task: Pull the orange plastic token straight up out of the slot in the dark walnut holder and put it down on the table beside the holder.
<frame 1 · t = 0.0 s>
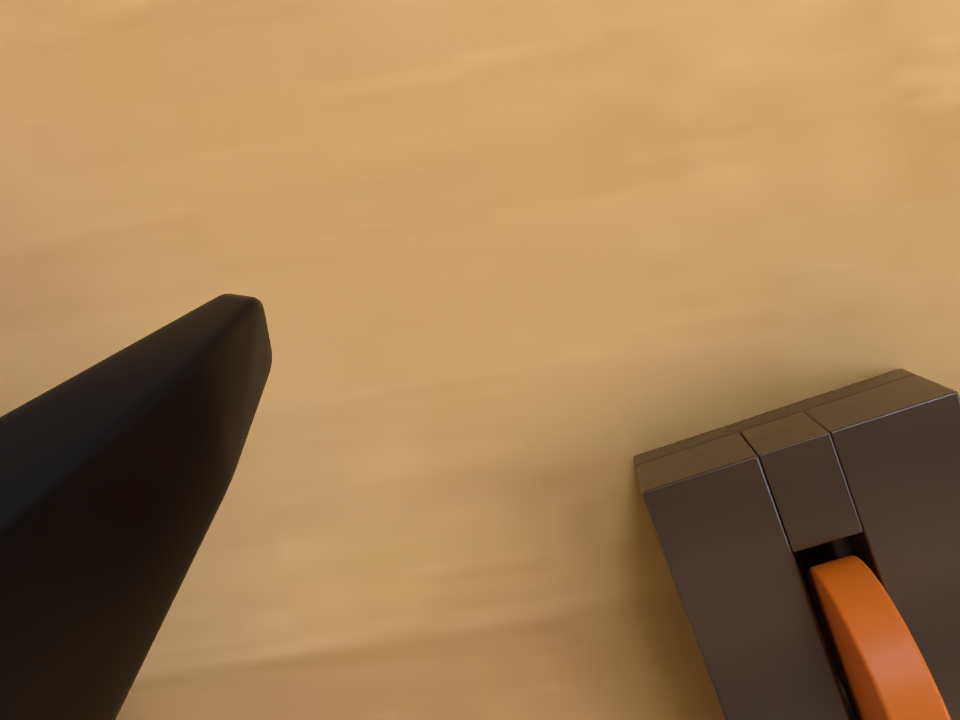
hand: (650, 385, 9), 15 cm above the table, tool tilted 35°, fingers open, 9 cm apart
token: (843, 627, 23), point 1 cm above the table, touching holder
holder: (832, 611, 24), on the table
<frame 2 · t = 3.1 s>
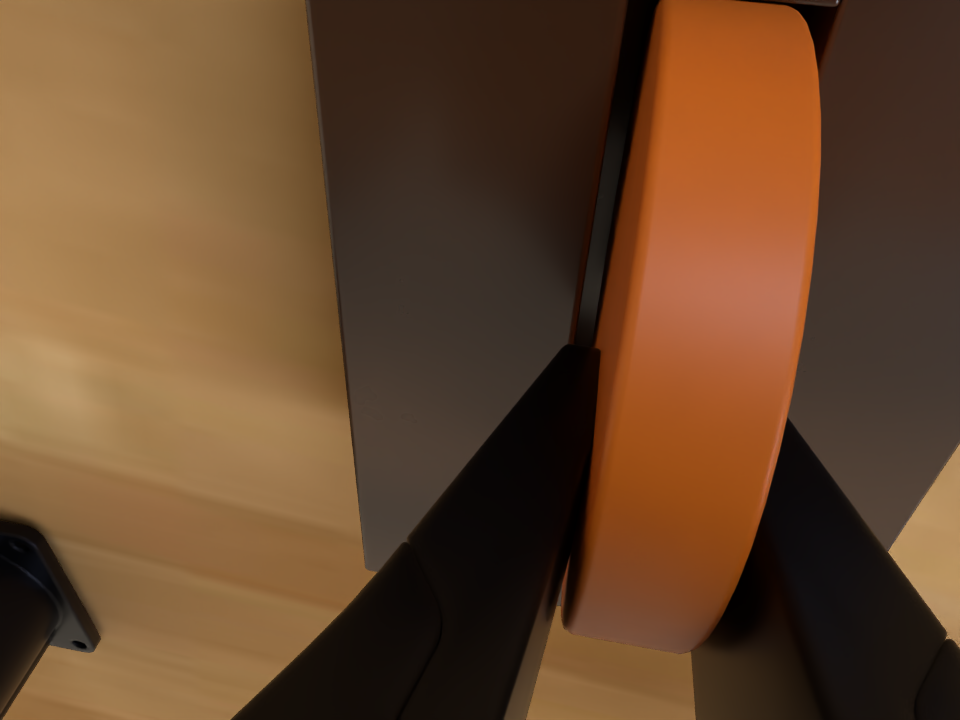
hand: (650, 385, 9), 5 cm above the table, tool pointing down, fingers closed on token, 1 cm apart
token: (654, 219, 11), point 1 cm above the table, tilted 10°, touching gripper, holder
holder: (658, 183, 12), on the table
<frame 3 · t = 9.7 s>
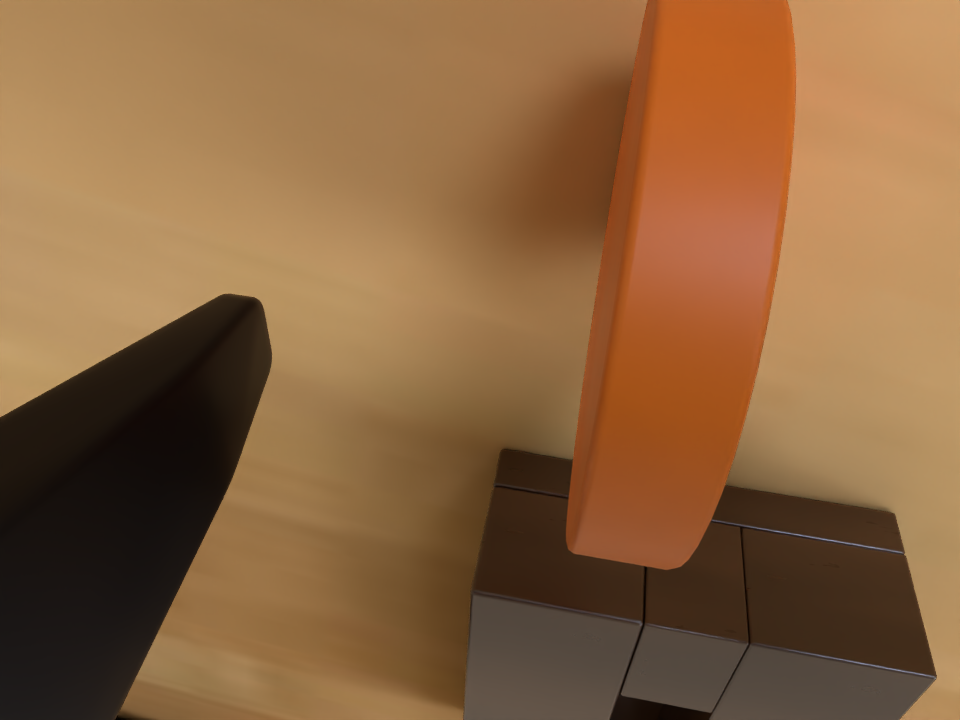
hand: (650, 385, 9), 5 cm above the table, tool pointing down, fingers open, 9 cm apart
token: (652, 188, 12), on the table, tilted 10°
holder: (638, 638, 21), on the table
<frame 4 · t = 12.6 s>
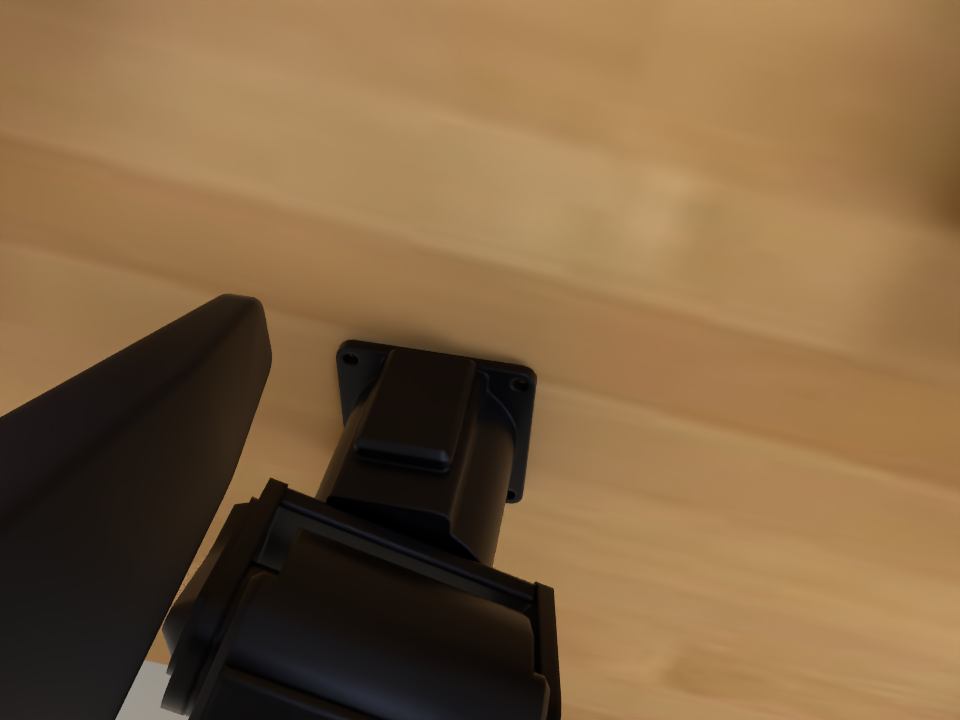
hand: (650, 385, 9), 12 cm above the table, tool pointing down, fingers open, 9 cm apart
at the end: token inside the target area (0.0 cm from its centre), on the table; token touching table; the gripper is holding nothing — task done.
